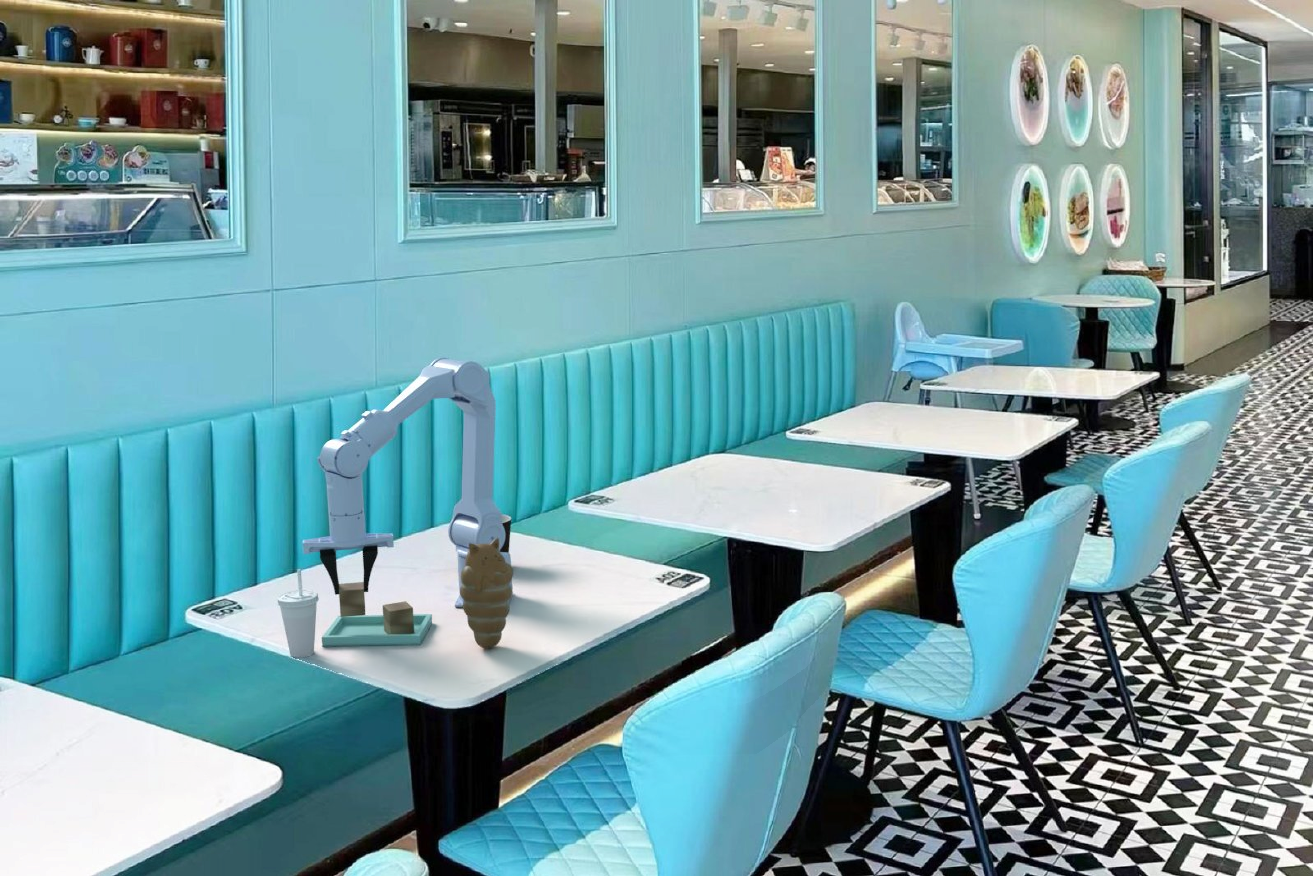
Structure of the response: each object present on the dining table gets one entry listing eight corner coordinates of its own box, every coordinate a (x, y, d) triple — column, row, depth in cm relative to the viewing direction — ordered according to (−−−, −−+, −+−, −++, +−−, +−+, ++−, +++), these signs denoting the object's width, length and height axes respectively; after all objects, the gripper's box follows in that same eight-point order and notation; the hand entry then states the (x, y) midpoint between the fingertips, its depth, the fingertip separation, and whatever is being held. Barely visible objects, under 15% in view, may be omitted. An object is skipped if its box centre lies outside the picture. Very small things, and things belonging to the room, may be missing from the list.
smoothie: (311, 661, 208) (305, 576, 205) (274, 659, 209) (267, 574, 207) (329, 647, 214) (323, 564, 212) (292, 645, 215) (286, 563, 213)
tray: (432, 623, 225) (431, 614, 225) (420, 645, 214) (419, 635, 214) (339, 624, 225) (338, 615, 225) (322, 646, 215) (321, 637, 214)
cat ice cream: (476, 660, 207) (470, 550, 203) (452, 647, 213) (447, 539, 209) (524, 648, 212) (520, 540, 208) (500, 635, 218) (495, 530, 215)
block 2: (407, 626, 223) (405, 601, 222) (414, 633, 219) (412, 607, 218) (384, 630, 221) (382, 605, 220) (390, 637, 217) (389, 611, 217)
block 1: (365, 607, 222) (363, 582, 221) (365, 615, 218) (363, 589, 217) (340, 609, 221) (339, 583, 220) (340, 617, 217) (338, 591, 216)
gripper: (390, 503, 221) (395, 581, 224) (301, 509, 218) (307, 588, 221) (391, 513, 215) (396, 593, 217) (300, 519, 212) (306, 600, 214)
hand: (351, 591), depth 219 cm, fingers closed on block 1, 4 cm apart
